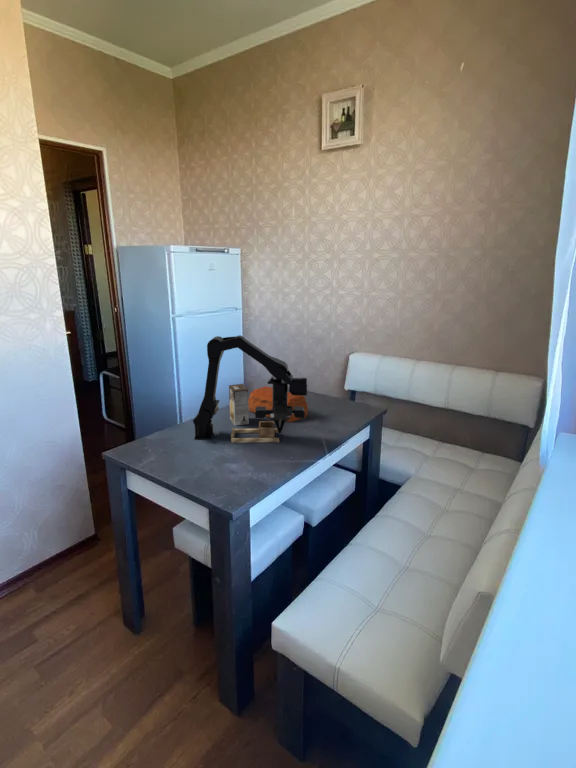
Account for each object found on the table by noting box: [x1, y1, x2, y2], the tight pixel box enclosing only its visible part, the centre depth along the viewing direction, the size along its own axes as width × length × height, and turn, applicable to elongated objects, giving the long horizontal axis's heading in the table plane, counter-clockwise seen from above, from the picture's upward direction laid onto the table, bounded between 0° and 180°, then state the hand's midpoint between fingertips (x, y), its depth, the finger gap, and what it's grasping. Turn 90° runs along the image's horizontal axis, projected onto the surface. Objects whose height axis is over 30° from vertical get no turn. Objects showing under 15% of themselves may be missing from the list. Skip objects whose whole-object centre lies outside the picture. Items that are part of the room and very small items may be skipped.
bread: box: [248, 385, 309, 423], centre depth 191 cm, size 16×27×11 cm, turn 50°
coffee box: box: [228, 383, 250, 427], centre depth 179 cm, size 9×6×16 cm
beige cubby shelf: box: [230, 427, 280, 444], centre depth 164 cm, size 20×12×3 cm, turn 93°
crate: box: [258, 420, 276, 438], centre depth 164 cm, size 6×7×5 cm
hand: (279, 432), depth 165 cm, fingers closed
